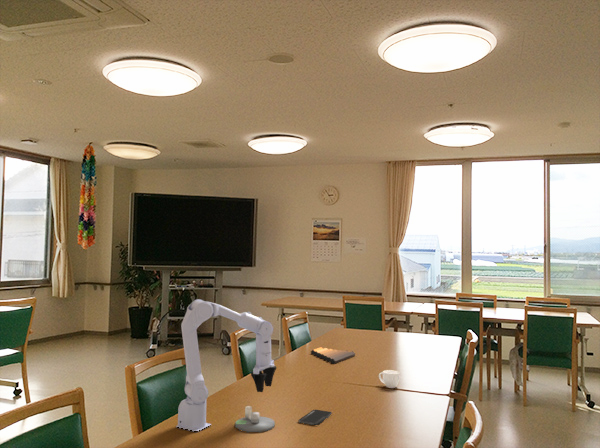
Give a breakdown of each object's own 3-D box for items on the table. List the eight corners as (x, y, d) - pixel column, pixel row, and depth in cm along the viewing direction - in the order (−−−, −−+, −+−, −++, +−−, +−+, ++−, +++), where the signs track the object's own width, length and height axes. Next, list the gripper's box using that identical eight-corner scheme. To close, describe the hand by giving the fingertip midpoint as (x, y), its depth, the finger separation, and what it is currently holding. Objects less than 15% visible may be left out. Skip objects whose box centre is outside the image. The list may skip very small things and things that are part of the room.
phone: (297, 420, 182) (314, 409, 195) (297, 423, 182) (314, 412, 195) (317, 424, 179) (333, 412, 192) (317, 427, 178) (333, 415, 192)
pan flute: (335, 365, 277) (355, 357, 298) (335, 358, 277) (355, 351, 298) (297, 359, 290) (318, 352, 311) (297, 353, 290) (318, 346, 312)
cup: (395, 390, 226) (395, 374, 227) (375, 386, 232) (375, 371, 233) (402, 386, 233) (402, 371, 233) (382, 382, 239) (382, 368, 239)
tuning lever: (260, 422, 178) (260, 411, 178) (253, 423, 176) (253, 413, 177) (250, 415, 185) (250, 405, 185) (243, 417, 183) (243, 406, 184)
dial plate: (227, 428, 176) (227, 424, 176) (249, 416, 188) (249, 413, 188) (260, 435, 169) (260, 432, 169) (282, 423, 181) (282, 420, 181)
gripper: (265, 357, 181) (266, 395, 180) (280, 348, 194) (281, 384, 194) (247, 356, 183) (248, 393, 182) (264, 347, 197) (264, 382, 196)
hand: (264, 388), depth 188 cm, fingers open, 7 cm apart
